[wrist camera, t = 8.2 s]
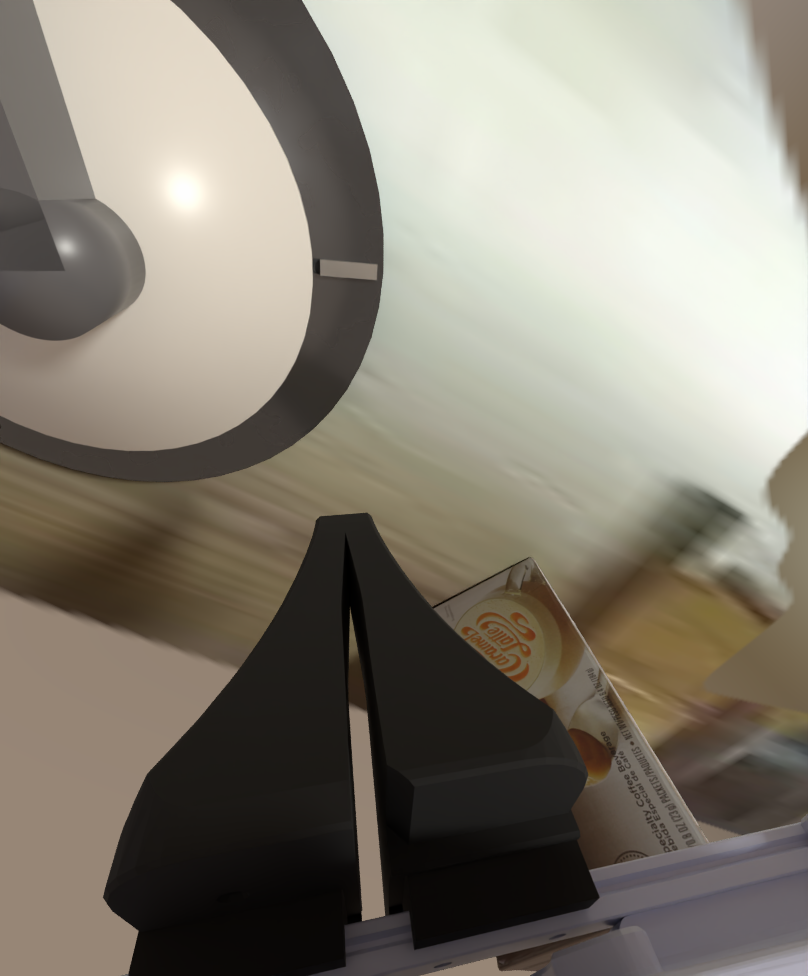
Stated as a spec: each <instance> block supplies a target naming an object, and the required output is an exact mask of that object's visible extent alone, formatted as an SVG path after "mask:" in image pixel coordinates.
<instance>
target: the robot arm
mask: <svg viewBox="0 0 808 976" xmlns="http://www.w3.org/2000/svg"><path fill="white" fill-rule="evenodd" d="M350 609H351V614H352V620H353V625H354V631H355V637H356V642H357V647H358V653H359V658H360V664H361V669H362V675H363V680H364V687H365V694H366V701H367V712H368V722H369V733H370V745H371V756H372V767H373V777H374V789H375V800H376V811H377V823H378V835H379V845H380V858H381V870H382V881H383V893H384V905H385V916H384V917H379V918H375V919H370V920H366V921H362V915H361V911H362V901H361V887H360V871H359V856H358V841H357V825H356V811H355V795H354V781H353V765H352V749H351V734H350V718H349V701H348V672H349V626H350ZM587 778H588V772H587V768H586V765H585V763H584V761H583V759H582V757H581V754H580V752H579V750H578V748H577V746H576V745H575V743H574V741H573V739H572V738H571V736H570V734H569V733H568V731H567V729H566V728H565V726H564V725H563V723H562V721H561V720H560V718H559V717H558V715H557V714H556V712H555V711H554V709H552V708H551V707H549V706H548V705H546V704H545V703H543V702H542V701H541V700H539V699H538V698H536V697H535V696H533V695H532V694H531V693H529V692H528V691H526V690H525V689H524V688H522V687H521V686H520V685H518V684H517V683H516V682H514V681H513V680H512V679H510V678H509V677H508V676H506V675H505V674H504V673H503V672H501V671H500V670H499V669H498V668H496V667H495V666H494V665H493V664H491V663H490V662H489V661H488V660H487V659H486V658H484V657H483V656H482V655H481V654H480V653H479V652H478V651H476V650H475V649H474V648H473V647H472V646H471V645H470V644H469V643H467V642H466V641H465V640H464V639H463V638H462V637H461V636H460V635H459V634H457V633H456V632H455V631H454V630H453V629H452V628H451V627H450V626H449V625H448V624H447V623H446V622H445V621H444V620H443V618H442V617H441V616H440V615H439V614H438V613H437V612H436V611H435V610H434V609H433V608H432V607H431V605H430V604H429V603H428V602H427V601H426V600H425V599H424V597H423V596H422V595H421V594H420V593H419V591H418V590H417V589H416V588H415V586H414V585H413V584H412V582H411V581H410V580H409V579H408V577H407V576H406V575H405V573H404V572H403V570H402V569H401V568H400V566H399V565H398V563H397V562H396V560H395V559H394V557H393V556H392V554H391V553H390V551H389V550H388V548H387V546H386V545H385V543H384V541H383V539H382V538H381V536H380V534H379V532H378V530H377V528H376V526H375V524H374V522H373V519H372V517H371V515H369V514H368V513H358V514H345V515H332V516H320V517H319V518H318V519H317V520H316V524H315V528H314V532H313V536H312V539H311V542H310V545H309V547H308V550H307V553H306V555H305V558H304V560H303V562H302V564H301V567H300V569H299V571H298V574H297V576H296V578H295V580H294V582H293V584H292V586H291V588H290V590H289V592H288V593H287V595H286V597H285V599H284V601H283V603H282V605H281V607H280V608H279V610H278V612H277V614H276V615H275V617H274V619H273V620H272V622H271V623H270V625H269V627H268V628H267V630H266V631H265V633H264V634H263V636H262V638H261V639H260V641H259V642H258V643H257V645H256V646H255V648H254V649H253V651H252V652H251V653H250V655H249V656H248V658H247V659H246V660H245V662H244V663H243V665H242V666H241V667H240V669H239V670H238V671H237V673H236V674H235V675H234V677H233V678H232V679H231V681H230V682H229V683H228V684H227V685H226V687H225V688H224V689H223V690H222V691H221V693H220V694H219V695H218V696H217V697H216V699H215V700H214V701H213V702H212V703H211V705H210V706H209V707H208V708H207V709H206V711H205V712H204V713H203V714H202V715H201V717H200V718H199V719H198V720H197V721H196V722H195V723H194V725H193V726H192V727H191V728H190V729H189V730H188V731H187V732H186V733H185V734H184V735H183V736H182V737H181V739H180V740H179V741H178V742H177V743H176V744H175V745H174V746H173V747H172V748H171V749H170V750H169V751H168V752H167V753H166V755H165V756H164V757H163V758H162V759H161V760H160V761H159V762H158V763H157V764H156V765H155V766H154V767H153V768H152V769H151V770H150V772H149V773H148V774H147V776H146V777H145V780H144V782H143V784H142V786H141V788H140V790H139V792H138V794H137V797H136V799H135V801H134V804H133V806H132V808H131V811H130V813H129V816H128V818H127V820H126V822H125V825H124V828H123V830H122V833H121V836H120V839H119V842H118V846H117V849H116V853H115V856H114V860H113V863H112V867H111V870H110V874H109V877H108V880H107V884H106V887H105V892H104V896H103V898H104V900H105V901H106V902H107V904H108V906H109V907H110V908H111V910H112V911H113V912H114V913H116V914H117V915H118V916H120V917H121V918H122V919H124V920H125V921H126V922H128V923H129V924H131V925H132V926H133V927H135V928H136V929H137V930H138V931H139V932H138V936H137V940H136V945H135V949H134V953H133V957H132V961H131V965H130V970H129V974H126V975H122V976H420V975H424V974H428V973H432V972H436V971H440V970H444V969H448V968H452V967H456V966H459V965H463V964H468V963H471V962H476V961H480V960H483V959H488V958H492V957H496V956H500V955H504V954H508V953H512V952H516V951H520V950H524V949H528V948H532V947H536V946H540V945H544V944H548V943H552V942H556V941H560V940H564V939H568V938H572V937H576V936H580V935H584V934H588V933H592V932H596V931H600V930H604V929H608V928H611V929H610V932H609V933H606V934H604V935H601V936H598V937H595V938H592V939H590V940H587V941H584V942H581V943H579V944H576V945H573V946H570V947H568V948H565V949H562V950H559V951H557V952H554V953H553V954H552V957H551V961H550V963H549V964H548V965H547V966H546V967H544V968H542V969H541V970H539V971H537V972H536V973H534V974H532V975H530V976H808V814H807V815H806V816H805V817H803V818H802V820H801V822H800V823H796V824H791V825H787V826H782V827H778V828H774V829H769V830H765V831H760V832H756V833H751V834H747V835H743V836H738V837H734V838H729V839H725V840H721V841H716V842H712V843H707V844H703V845H698V846H694V847H689V848H685V849H680V850H676V851H672V852H667V853H663V854H658V855H654V856H649V857H645V858H641V859H636V860H632V861H627V862H623V863H618V864H614V865H610V866H605V867H601V868H596V869H592V870H589V869H588V867H587V864H586V862H585V859H584V857H583V854H582V852H581V849H580V847H579V844H578V842H577V840H578V839H579V838H580V837H581V836H580V830H579V827H578V825H577V823H576V820H575V818H574V815H573V813H572V810H571V808H572V807H573V805H574V803H575V802H576V800H577V799H578V797H579V795H580V794H581V792H582V791H583V789H584V787H585V784H586V781H587Z"/></svg>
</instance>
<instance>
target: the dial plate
mask: <svg viewBox="0 0 808 976" xmlns="http://www.w3.org/2000/svg"><path fill="white" fill-rule="evenodd" d="M170 1H172V2H173V3H174V4H175V5H176V6H177V7H179V8H180V9H181V10H182V11H183V12H184V13H185V14H186V15H187V16H188V17H189V18H190V20H191V21H192V22H193V23H194V24H195V25H196V26H197V27H198V28H199V29H200V30H201V31H202V32H203V33H204V34H205V35H206V36H207V38H208V39H209V40H210V41H211V42H212V43H213V44H214V45H215V46H216V47H217V49H218V50H219V51H220V53H221V54H222V55H223V56H224V58H225V59H226V60H227V62H228V63H229V64H230V65H231V67H232V68H233V69H234V71H235V72H236V73H237V75H238V76H239V77H240V78H241V80H242V81H243V82H244V84H245V85H246V87H247V88H248V90H249V91H250V93H251V94H252V96H253V98H254V99H255V101H256V102H257V104H258V106H259V107H260V109H261V110H262V112H263V114H264V115H265V117H266V118H267V120H268V122H269V123H270V125H271V126H272V128H273V130H274V132H275V134H276V136H277V138H278V140H279V142H280V145H281V147H282V149H283V151H284V153H285V155H286V157H287V159H288V161H289V164H290V166H291V169H292V172H293V174H294V177H295V180H296V182H297V185H298V188H299V190H300V194H301V198H302V201H303V205H304V209H305V213H306V217H307V221H308V226H309V233H310V240H311V247H312V267H313V288H312V298H311V308H310V316H309V320H308V324H307V329H306V333H305V337H304V340H303V343H302V346H301V348H300V351H299V353H298V356H297V358H296V361H295V363H294V365H293V366H292V368H291V370H290V372H289V374H288V375H287V377H286V379H285V381H284V382H283V383H282V385H281V386H280V387H279V388H278V390H277V391H276V392H275V394H274V395H273V396H272V398H271V399H270V400H269V401H267V402H266V403H265V404H264V405H263V406H262V407H261V408H260V409H259V410H258V411H257V412H256V413H255V414H253V415H252V416H251V417H249V418H248V419H246V420H245V421H244V422H242V423H241V424H240V425H238V426H236V427H234V428H232V429H230V430H229V431H227V432H225V433H223V434H221V435H219V436H216V437H214V438H211V439H208V440H205V441H203V442H200V443H196V444H192V445H188V446H183V447H179V448H173V449H164V450H155V451H124V450H113V449H103V448H97V447H92V446H87V445H82V444H77V443H72V442H69V441H66V440H62V439H59V438H55V437H52V436H48V435H45V434H42V433H40V432H37V431H35V430H32V429H29V428H27V427H24V426H22V425H19V424H17V423H14V422H12V421H10V420H8V419H6V418H4V417H2V416H0V442H1V443H2V444H5V445H7V446H10V447H12V448H15V449H17V450H19V451H22V452H24V453H27V454H29V455H31V456H34V457H36V458H39V459H42V460H45V461H48V462H51V463H55V464H58V465H61V466H64V467H67V468H70V469H74V470H78V471H83V472H87V473H91V474H96V475H100V476H105V477H112V478H119V479H127V480H134V481H156V482H172V481H189V480H198V479H204V478H210V477H216V476H222V475H225V474H228V473H232V472H235V471H239V470H242V469H246V468H248V467H251V466H253V465H255V464H258V463H260V462H262V461H265V460H267V459H269V458H271V457H273V456H275V455H277V454H278V453H280V452H282V451H283V450H285V449H287V448H289V447H290V446H292V445H293V444H295V443H296V442H297V441H299V440H300V439H301V438H302V437H304V436H305V435H306V434H308V433H309V432H310V431H311V430H313V429H314V428H315V427H316V426H317V425H318V424H319V423H320V422H321V421H322V420H323V419H324V418H325V417H326V416H327V414H328V413H329V412H330V411H331V410H332V409H333V408H334V406H335V405H336V404H337V402H338V401H339V399H340V398H341V397H342V395H343V394H344V393H345V391H346V390H347V389H348V387H349V385H350V383H351V381H352V379H353V378H354V376H355V374H356V372H357V370H358V369H359V367H360V365H361V362H362V360H363V357H364V355H365V352H366V350H367V347H368V345H369V342H370V339H371V337H372V333H373V329H374V325H375V321H376V317H377V313H378V309H379V303H380V295H381V287H382V279H383V226H382V216H381V207H380V198H379V191H378V187H377V182H376V177H375V173H374V168H373V164H372V159H371V154H370V150H369V147H368V144H367V141H366V138H365V135H364V132H363V129H362V125H361V122H360V119H359V116H358V113H357V110H356V107H355V104H354V102H353V99H352V97H351V95H350V93H349V90H348V88H347V86H346V84H345V81H344V79H343V77H342V75H341V72H340V70H339V68H338V66H337V63H336V61H335V59H334V57H333V54H332V52H331V51H330V49H329V47H328V45H327V44H326V42H325V40H324V38H323V37H322V35H321V33H320V31H319V30H318V28H317V26H316V24H315V23H314V21H313V19H312V17H311V16H310V14H309V12H308V10H307V9H306V7H305V5H304V3H303V2H302V0H170Z"/></svg>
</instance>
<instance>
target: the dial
mask: <svg viewBox="0 0 808 976" xmlns="http://www.w3.org/2000/svg"><path fill="white" fill-rule="evenodd" d="M312 288H313V267H312V247H311V240H310V233H309V226H308V221H307V217H306V213H305V209H304V205H303V201H302V198H301V194H300V190H299V188H298V185H297V182H296V180H295V177H294V174H293V172H292V169H291V166H290V164H289V161H288V159H287V157H286V155H285V153H284V151H283V149H282V147H281V145H280V142H279V140H278V138H277V136H276V134H275V132H274V130H273V128H272V126H271V125H270V123H269V122H268V120H267V118H266V117H265V115H264V114H263V112H262V110H261V109H260V107H259V106H258V104H257V102H256V101H255V99H254V98H253V96H252V94H251V93H250V91H249V90H248V88H247V87H246V85H245V84H244V82H243V81H242V80H241V78H240V77H239V76H238V75H237V73H236V72H235V71H234V69H233V68H232V67H231V65H230V64H229V63H228V62H227V60H226V59H225V58H224V56H223V55H222V54H221V53H220V51H219V50H218V49H217V47H216V46H215V45H214V44H213V43H212V42H211V41H210V40H209V39H208V38H207V36H206V35H205V34H204V33H203V32H202V31H201V30H200V29H199V28H198V27H197V26H196V25H195V24H194V23H193V22H192V21H191V20H190V18H189V17H188V16H187V15H186V14H185V13H184V12H183V11H182V10H181V9H180V8H179V7H177V6H176V5H175V4H174V3H173V2H172V1H170V0H0V416H2V417H4V418H6V419H8V420H10V421H12V422H14V423H17V424H19V425H22V426H24V427H27V428H29V429H32V430H35V431H37V432H40V433H42V434H45V435H48V436H52V437H55V438H59V439H62V440H66V441H69V442H72V443H77V444H82V445H87V446H92V447H97V448H103V449H113V450H124V451H155V450H164V449H173V448H179V447H183V446H188V445H192V444H196V443H200V442H203V441H205V440H208V439H211V438H214V437H216V436H219V435H221V434H223V433H225V432H227V431H229V430H230V429H232V428H234V427H236V426H238V425H240V424H241V423H242V422H244V421H245V420H246V419H248V418H249V417H251V416H252V415H253V414H255V413H256V412H257V411H258V410H259V409H260V408H261V407H262V406H263V405H264V404H265V403H266V402H267V401H269V400H270V399H271V398H272V396H273V395H274V394H275V392H276V391H277V390H278V388H279V387H280V386H281V385H282V383H283V382H284V381H285V379H286V377H287V375H288V374H289V372H290V370H291V368H292V366H293V365H294V363H295V361H296V358H297V356H298V353H299V351H300V348H301V346H302V343H303V340H304V337H305V333H306V329H307V324H308V320H309V316H310V308H311V298H312Z"/></svg>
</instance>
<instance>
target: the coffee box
mask: <svg viewBox="0 0 808 976" xmlns="http://www.w3.org/2000/svg"><path fill="white" fill-rule="evenodd" d="M434 610H435V611H436V612H437V613H438V614H439V615H440V616H441V617H442V618H443V620H444V621H445V622H446V623H447V624H448V625H449V626H450V627H451V628H452V629H453V630H454V631H455V632H456V633H457V634H459V635H460V636H461V637H462V638H463V639H464V640H465V641H466V642H467V643H469V644H470V645H471V646H472V647H473V648H474V649H475V650H476V651H478V652H479V653H480V654H481V655H482V656H483V657H484V658H486V659H487V660H488V661H489V662H490V663H491V664H493V665H494V666H495V667H496V668H498V669H499V670H500V671H501V672H503V673H504V674H505V675H506V676H508V677H509V678H510V679H512V680H513V681H514V682H516V683H517V684H518V685H520V686H521V687H522V688H524V689H525V690H526V691H528V692H529V693H531V694H532V695H533V696H535V697H536V698H538V699H539V700H541V701H542V702H543V703H545V704H546V705H548V706H549V707H551V708H552V709H554V711H555V712H556V714H557V715H558V717H559V718H560V720H561V721H562V723H563V725H564V726H565V728H566V729H567V731H568V733H569V734H570V736H571V738H572V739H573V741H574V743H575V745H576V746H577V748H578V750H579V752H580V754H581V757H582V759H583V761H584V763H585V765H586V768H587V772H588V778H587V781H586V784H585V787H584V789H583V791H582V792H581V794H580V795H579V797H578V799H577V800H576V802H575V803H574V805H573V807H572V808H571V810H572V813H573V815H574V818H575V820H576V823H577V825H578V827H579V830H580V836H581V837H580V838H579V839H578V840H577V842H578V844H579V847H580V849H581V852H582V854H583V857H584V859H585V862H586V864H587V867H588V869H589V870H592V869H596V868H601V867H605V866H610V865H614V864H618V863H623V862H627V861H632V860H636V859H641V858H645V857H649V856H654V855H658V854H663V853H667V852H672V851H676V850H680V849H685V848H689V847H694V846H698V845H703V844H707V843H709V841H708V840H707V838H706V837H705V835H704V834H703V832H702V830H701V828H700V827H699V825H698V823H697V822H696V820H695V818H694V817H693V815H692V814H691V812H690V810H689V809H688V807H687V805H686V804H685V802H684V801H683V799H682V797H681V796H680V794H679V792H678V791H677V789H676V788H675V786H674V784H673V783H672V781H671V779H670V778H669V776H668V775H667V773H666V771H665V770H664V768H663V766H662V765H661V763H660V762H659V760H658V758H657V757H656V755H655V753H654V752H653V750H652V749H651V747H650V745H649V744H648V742H647V740H646V739H645V737H644V736H643V734H642V732H641V731H640V729H639V727H638V726H637V724H636V723H635V721H634V719H633V717H632V716H631V714H630V713H629V711H628V709H627V708H626V706H625V705H624V703H623V701H622V700H621V698H620V697H619V695H618V693H617V692H616V690H615V688H614V687H613V685H612V683H611V682H610V680H609V679H608V677H607V675H606V674H605V672H604V671H603V669H602V667H601V665H600V664H599V662H598V661H597V659H596V657H595V656H594V654H593V653H592V651H591V649H590V648H589V646H588V644H587V643H586V641H585V639H584V638H583V636H582V635H581V633H580V631H579V630H578V628H577V627H576V625H575V623H574V622H573V620H572V619H571V617H570V615H569V614H568V612H567V610H566V609H565V607H564V606H563V604H562V603H561V601H560V599H559V598H558V596H557V595H556V593H555V591H554V590H553V588H552V587H551V585H550V584H549V582H548V580H547V579H546V577H545V576H544V574H543V572H542V571H541V569H540V568H539V566H538V565H537V563H536V562H535V560H534V559H533V558H528V559H526V560H524V561H522V562H520V563H519V564H517V565H515V566H513V567H511V568H509V569H507V570H505V571H504V572H502V573H500V574H498V575H496V576H494V577H492V578H490V579H488V580H487V581H485V582H483V583H481V584H479V585H477V586H475V587H473V588H471V589H469V590H468V591H466V592H464V593H462V594H460V595H458V596H456V597H454V598H452V599H451V600H449V601H447V602H445V603H443V604H441V605H439V606H437V607H436V608H434ZM610 929H611V928H608V929H604V930H600V931H596V932H592V933H588V934H584V935H580V936H576V937H572V938H568V939H564V940H560V941H556V942H552V943H548V944H544V945H540V946H536V947H532V948H528V949H524V950H520V951H516V952H512V953H508V954H504V955H500V956H496V957H497V964H498V968H499V970H500V971H510V970H525V971H526V970H527V971H539V970H541V969H542V968H544V967H546V966H547V965H548V964H549V963H550V961H551V957H552V954H553V953H554V952H557V951H559V950H562V949H565V948H568V947H570V946H573V945H576V944H579V943H581V942H584V941H587V940H590V939H592V938H595V937H598V936H601V935H604V934H606V933H609V932H610Z"/></svg>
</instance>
